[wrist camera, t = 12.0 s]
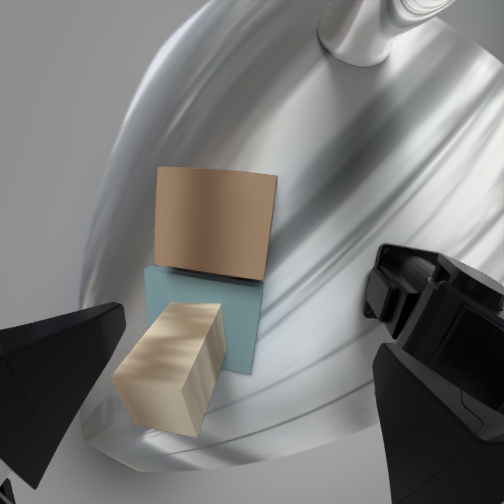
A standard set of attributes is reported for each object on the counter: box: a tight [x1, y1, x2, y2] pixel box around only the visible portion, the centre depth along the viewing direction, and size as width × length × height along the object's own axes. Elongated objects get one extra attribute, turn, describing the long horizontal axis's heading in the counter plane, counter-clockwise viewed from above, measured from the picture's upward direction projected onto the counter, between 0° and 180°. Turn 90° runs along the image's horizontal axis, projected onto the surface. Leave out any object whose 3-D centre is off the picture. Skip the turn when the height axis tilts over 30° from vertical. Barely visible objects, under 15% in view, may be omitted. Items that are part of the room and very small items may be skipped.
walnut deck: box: [155, 167, 277, 280], centre depth 19 cm, size 8×7×3 cm
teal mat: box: [144, 265, 264, 374], centre depth 23 cm, size 10×9×1 cm
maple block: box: [111, 302, 227, 437], centre depth 18 cm, size 4×4×10 cm
